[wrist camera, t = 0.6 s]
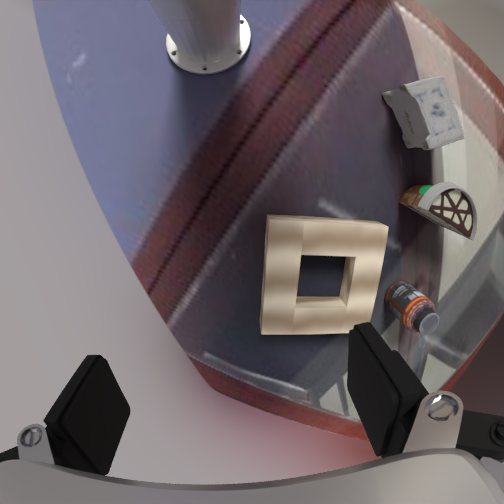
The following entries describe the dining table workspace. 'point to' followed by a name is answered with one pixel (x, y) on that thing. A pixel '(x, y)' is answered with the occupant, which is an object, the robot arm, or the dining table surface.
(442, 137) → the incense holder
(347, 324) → the socket board
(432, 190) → the food container
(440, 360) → the dining table surface
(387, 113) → the dining table surface
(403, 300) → the supplement bottle
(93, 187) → the dining table surface
